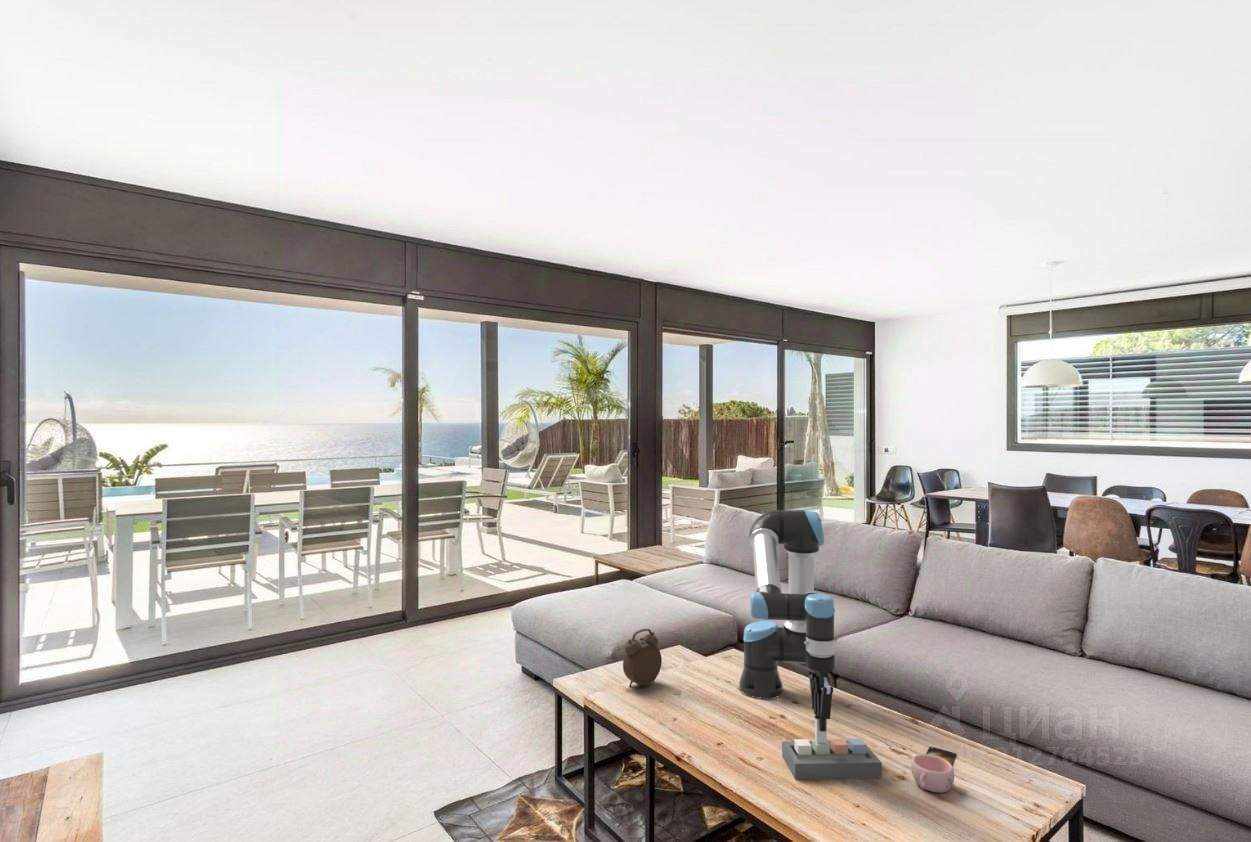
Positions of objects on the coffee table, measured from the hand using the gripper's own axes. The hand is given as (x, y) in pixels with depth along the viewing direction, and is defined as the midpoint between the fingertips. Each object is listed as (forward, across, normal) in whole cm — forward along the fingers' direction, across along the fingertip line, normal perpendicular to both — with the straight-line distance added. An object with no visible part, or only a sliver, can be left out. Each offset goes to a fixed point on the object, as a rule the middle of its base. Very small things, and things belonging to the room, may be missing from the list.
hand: (821, 741), depth 170 cm
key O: (+3, 0, -5) cm, 6 cm away
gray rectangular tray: (+7, 0, +2) cm, 7 cm away
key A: (+3, 0, +10) cm, 10 cm away
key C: (+3, 0, 0) cm, 3 cm away
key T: (+3, 0, +5) cm, 6 cm away
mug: (+7, +11, +24) cm, 28 cm away
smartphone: (+8, -2, +34) cm, 34 cm away
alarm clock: (+7, -58, -45) cm, 74 cm away
